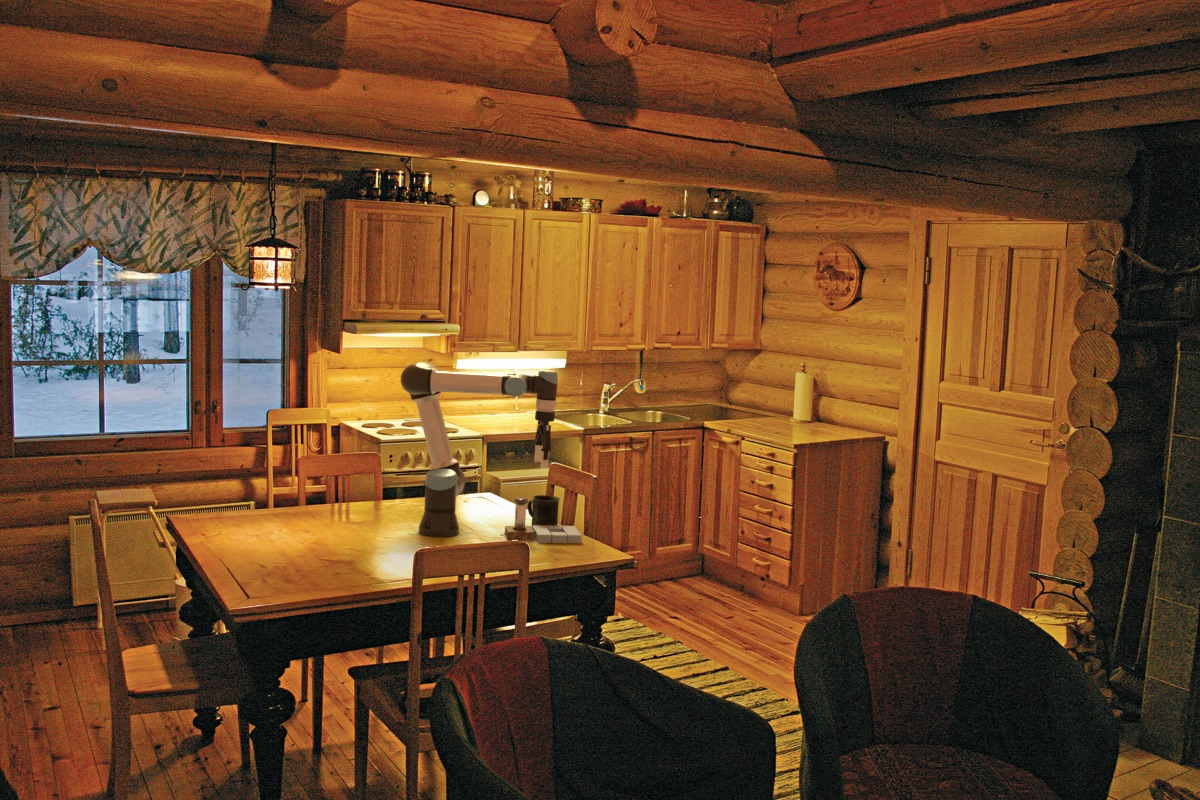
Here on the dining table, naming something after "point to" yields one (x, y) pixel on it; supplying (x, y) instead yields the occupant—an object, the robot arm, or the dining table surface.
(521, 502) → the pin
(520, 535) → the mount
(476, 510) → the dining table surface
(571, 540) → the socket
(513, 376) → the robot arm
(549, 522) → the mug
